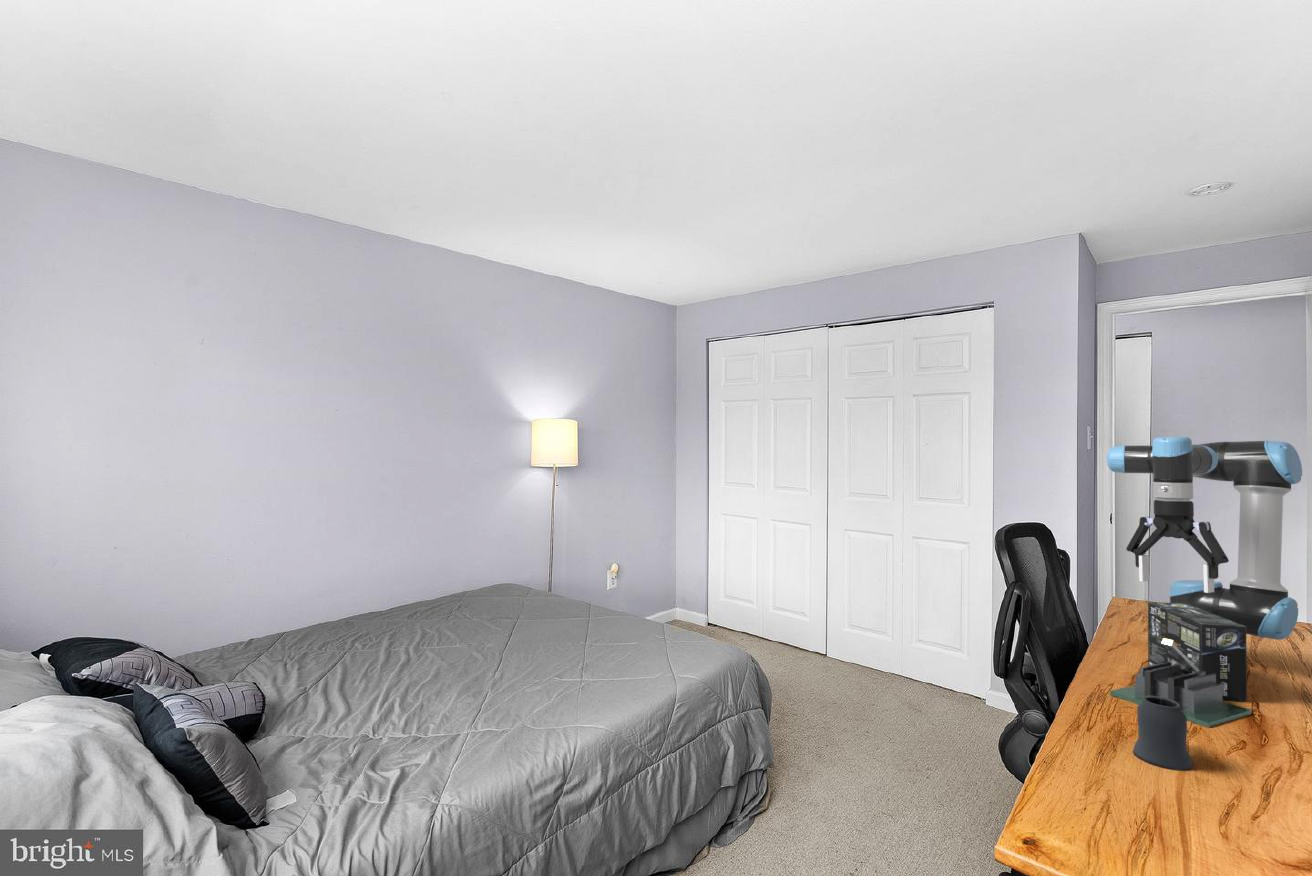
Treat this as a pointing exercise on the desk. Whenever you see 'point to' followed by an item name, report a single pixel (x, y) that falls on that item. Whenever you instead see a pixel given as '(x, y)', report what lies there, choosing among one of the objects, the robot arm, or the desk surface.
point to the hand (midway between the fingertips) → (1175, 586)
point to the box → (1200, 644)
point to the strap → (1179, 655)
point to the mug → (1162, 734)
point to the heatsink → (1183, 693)
